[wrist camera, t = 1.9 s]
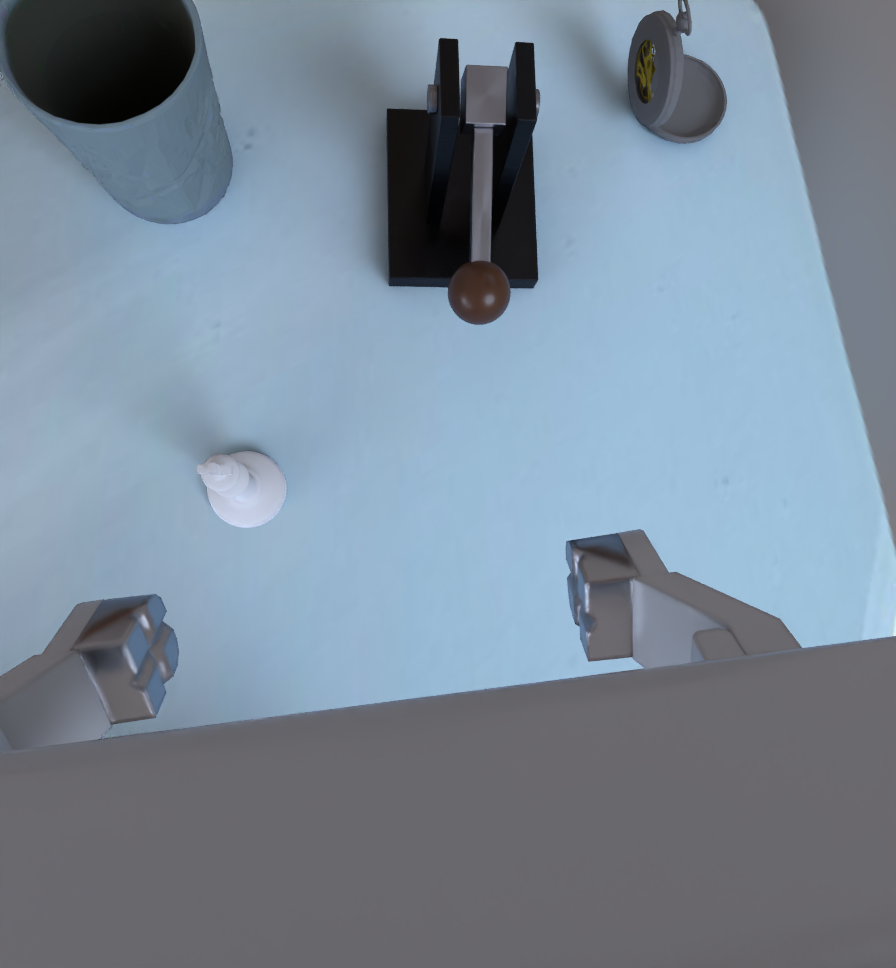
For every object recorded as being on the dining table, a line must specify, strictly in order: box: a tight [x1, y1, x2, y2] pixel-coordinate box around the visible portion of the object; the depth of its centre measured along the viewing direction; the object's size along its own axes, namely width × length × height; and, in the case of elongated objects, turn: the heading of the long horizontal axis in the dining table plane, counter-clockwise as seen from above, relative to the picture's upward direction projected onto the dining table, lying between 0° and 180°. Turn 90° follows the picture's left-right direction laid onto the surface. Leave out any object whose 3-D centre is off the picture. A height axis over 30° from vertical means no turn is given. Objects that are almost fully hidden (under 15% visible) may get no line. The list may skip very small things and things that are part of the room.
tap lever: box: [448, 65, 511, 325], centre depth 39 cm, size 13×4×4 cm, turn 0°
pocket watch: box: [628, 0, 727, 143], centre depth 47 cm, size 8×8×10 cm
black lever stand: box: [387, 38, 540, 288], centre depth 43 cm, size 12×10×13 cm
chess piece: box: [197, 451, 287, 528], centre depth 40 cm, size 5×5×10 cm
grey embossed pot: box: [0, 0, 233, 224], centre depth 41 cm, size 10×10×12 cm
